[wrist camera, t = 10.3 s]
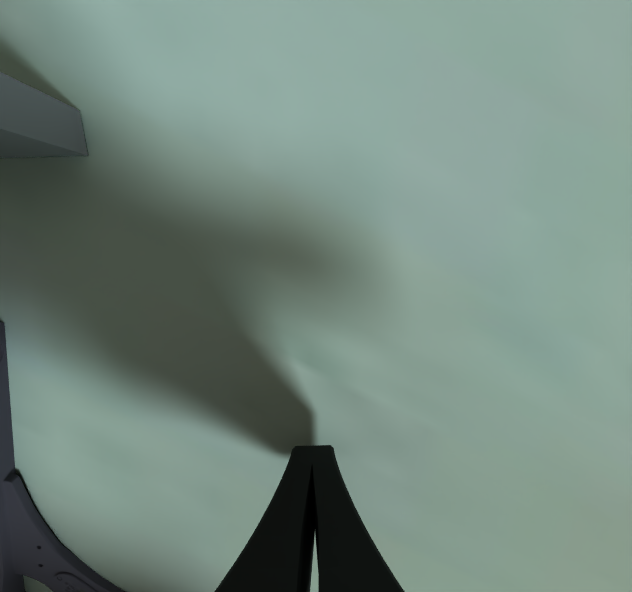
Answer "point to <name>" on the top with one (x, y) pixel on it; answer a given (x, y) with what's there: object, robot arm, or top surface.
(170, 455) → the top surface
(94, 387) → the top surface
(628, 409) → the top surface
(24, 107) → the box
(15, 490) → the bracket
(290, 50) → the top surface
